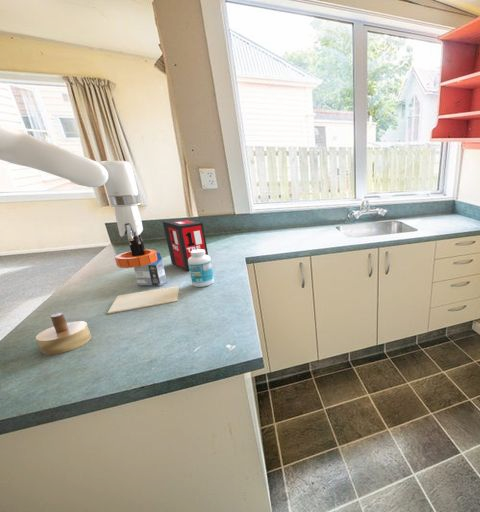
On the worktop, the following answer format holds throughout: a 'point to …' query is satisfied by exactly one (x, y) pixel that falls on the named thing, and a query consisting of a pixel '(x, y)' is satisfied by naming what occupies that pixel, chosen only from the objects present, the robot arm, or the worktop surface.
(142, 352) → the worktop surface
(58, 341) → the stake stand
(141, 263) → the ring
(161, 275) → the label tape box
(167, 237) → the cleaning product box
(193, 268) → the pill bottle
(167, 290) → the mat
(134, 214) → the robot arm
